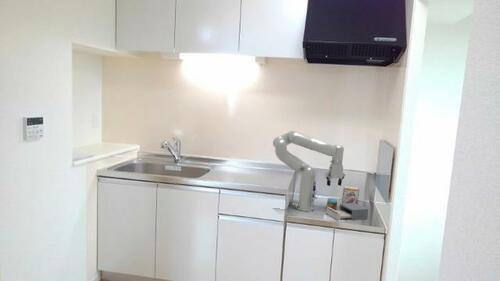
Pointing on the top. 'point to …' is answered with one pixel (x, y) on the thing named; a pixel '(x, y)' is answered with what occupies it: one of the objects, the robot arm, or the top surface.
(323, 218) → the top surface
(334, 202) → the disc
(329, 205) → the block
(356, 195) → the candy bar box
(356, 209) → the grey low box
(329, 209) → the tray
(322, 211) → the top surface
